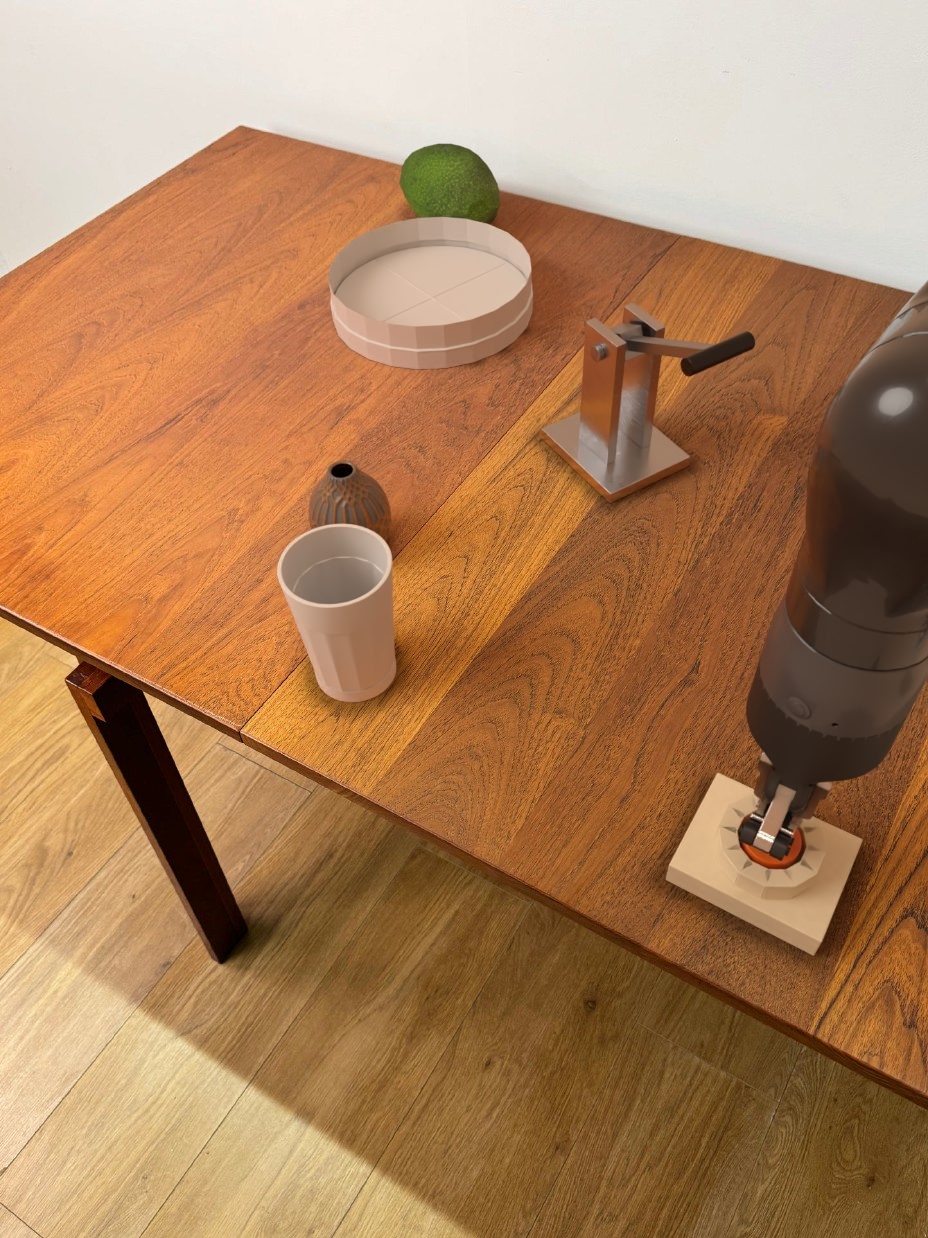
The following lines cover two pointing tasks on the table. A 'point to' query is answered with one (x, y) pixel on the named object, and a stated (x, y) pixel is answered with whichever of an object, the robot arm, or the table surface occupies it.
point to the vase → (350, 500)
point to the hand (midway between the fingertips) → (769, 837)
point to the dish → (431, 292)
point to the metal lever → (683, 348)
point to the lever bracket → (617, 415)
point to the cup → (343, 607)
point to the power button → (770, 861)
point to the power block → (763, 868)
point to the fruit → (450, 184)
